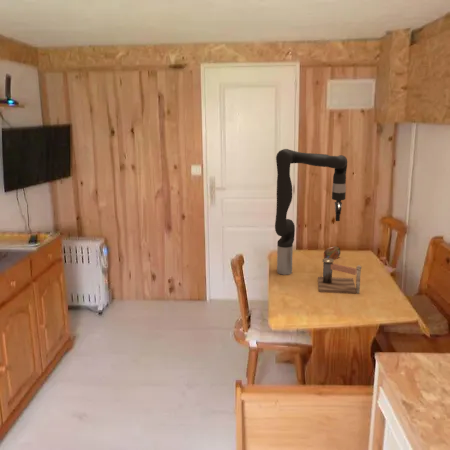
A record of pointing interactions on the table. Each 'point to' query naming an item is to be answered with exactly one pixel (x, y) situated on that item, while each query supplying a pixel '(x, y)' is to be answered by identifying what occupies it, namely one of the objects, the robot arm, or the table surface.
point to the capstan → (330, 266)
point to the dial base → (341, 284)
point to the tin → (332, 252)
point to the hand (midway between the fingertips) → (337, 220)
